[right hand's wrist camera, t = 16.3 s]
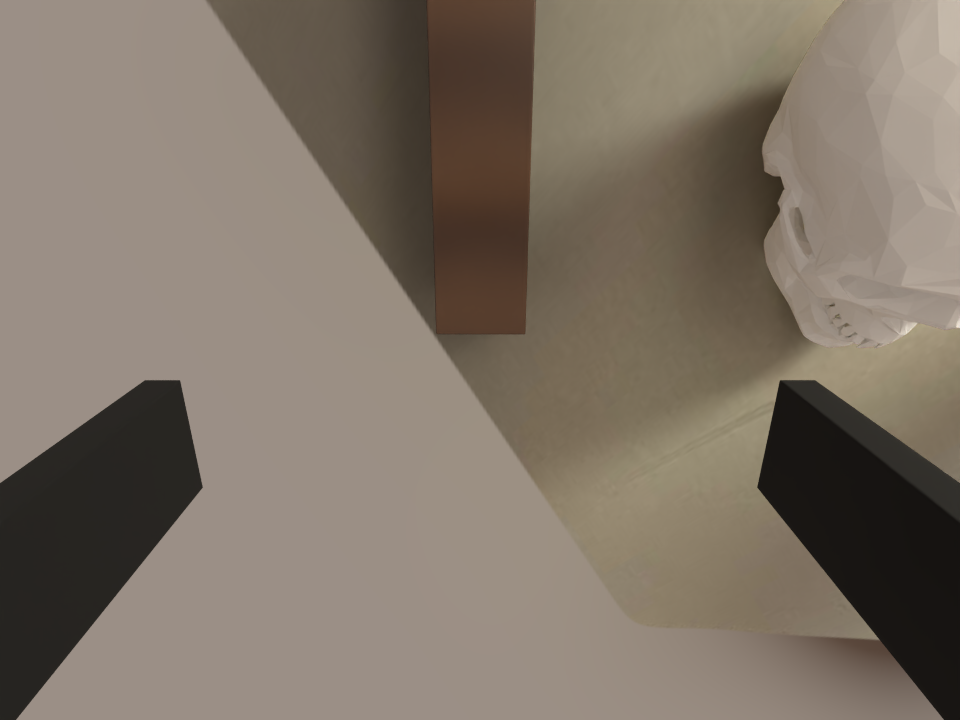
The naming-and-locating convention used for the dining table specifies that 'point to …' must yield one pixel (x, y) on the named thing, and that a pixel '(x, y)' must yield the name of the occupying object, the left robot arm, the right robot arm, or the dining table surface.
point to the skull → (870, 175)
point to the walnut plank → (480, 161)
